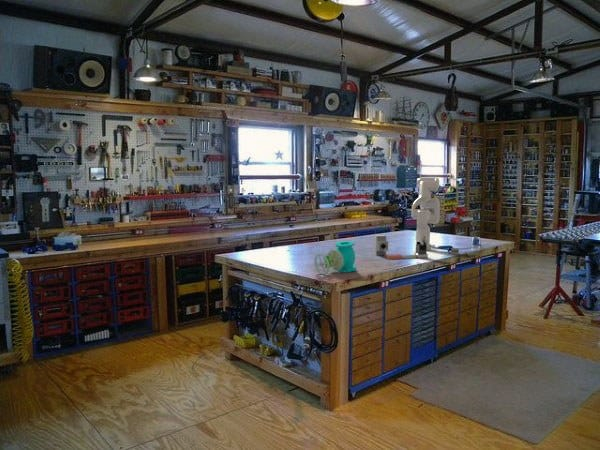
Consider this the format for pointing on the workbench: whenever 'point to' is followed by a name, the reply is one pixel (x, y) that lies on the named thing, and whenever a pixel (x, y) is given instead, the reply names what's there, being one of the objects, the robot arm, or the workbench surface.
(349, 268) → the valve
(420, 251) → the socket
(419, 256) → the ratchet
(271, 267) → the workbench surface
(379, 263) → the workbench surface
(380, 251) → the circuit breaker
